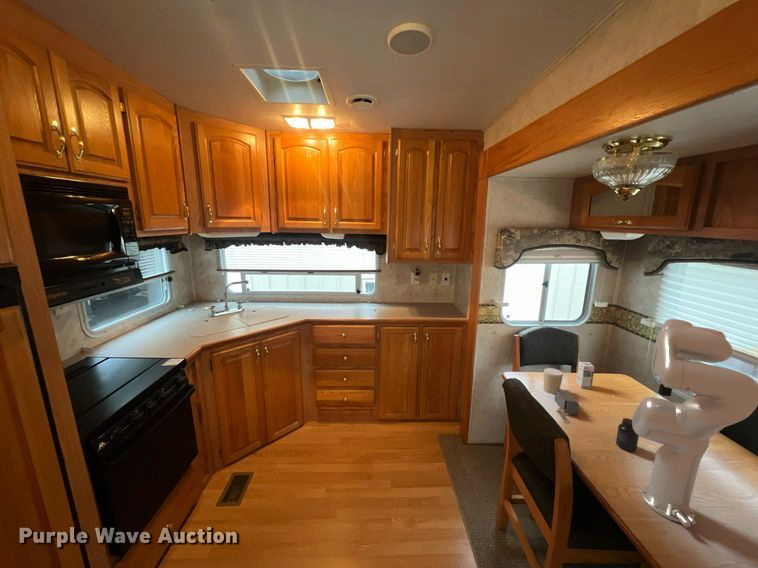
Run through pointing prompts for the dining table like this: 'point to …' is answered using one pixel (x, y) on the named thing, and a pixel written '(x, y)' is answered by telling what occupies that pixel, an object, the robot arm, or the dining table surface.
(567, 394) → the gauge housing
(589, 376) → the syrup box
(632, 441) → the supplement bottle
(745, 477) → the dining table surface
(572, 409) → the plunger
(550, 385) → the coffee cup
